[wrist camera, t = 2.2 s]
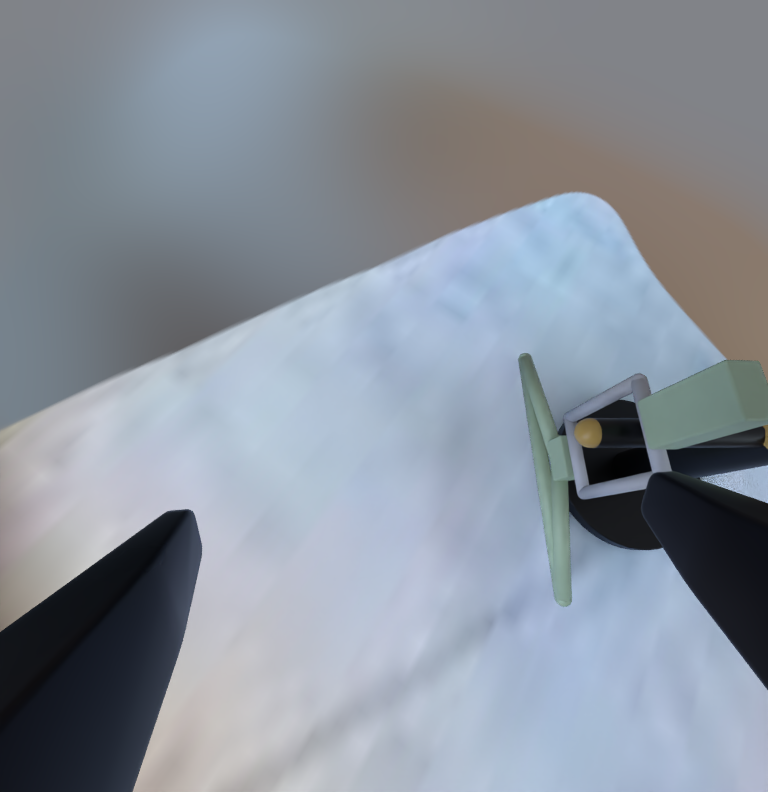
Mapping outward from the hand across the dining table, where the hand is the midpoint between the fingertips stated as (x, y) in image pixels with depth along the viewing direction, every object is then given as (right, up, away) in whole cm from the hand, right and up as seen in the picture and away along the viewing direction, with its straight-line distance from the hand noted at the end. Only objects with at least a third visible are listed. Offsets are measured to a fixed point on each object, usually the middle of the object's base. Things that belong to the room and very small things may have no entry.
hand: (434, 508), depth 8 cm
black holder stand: (+10, -2, +14) cm, 18 cm away
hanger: (+7, -1, +12) cm, 14 cm away
